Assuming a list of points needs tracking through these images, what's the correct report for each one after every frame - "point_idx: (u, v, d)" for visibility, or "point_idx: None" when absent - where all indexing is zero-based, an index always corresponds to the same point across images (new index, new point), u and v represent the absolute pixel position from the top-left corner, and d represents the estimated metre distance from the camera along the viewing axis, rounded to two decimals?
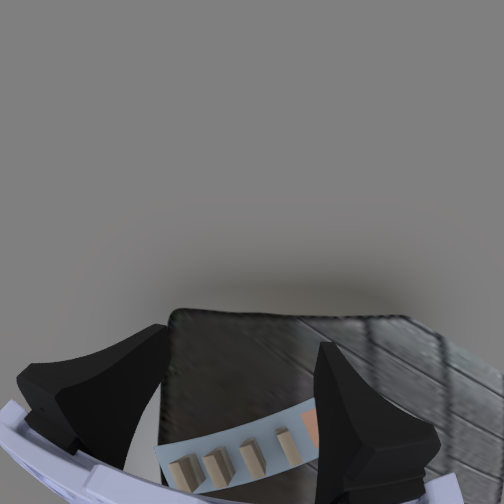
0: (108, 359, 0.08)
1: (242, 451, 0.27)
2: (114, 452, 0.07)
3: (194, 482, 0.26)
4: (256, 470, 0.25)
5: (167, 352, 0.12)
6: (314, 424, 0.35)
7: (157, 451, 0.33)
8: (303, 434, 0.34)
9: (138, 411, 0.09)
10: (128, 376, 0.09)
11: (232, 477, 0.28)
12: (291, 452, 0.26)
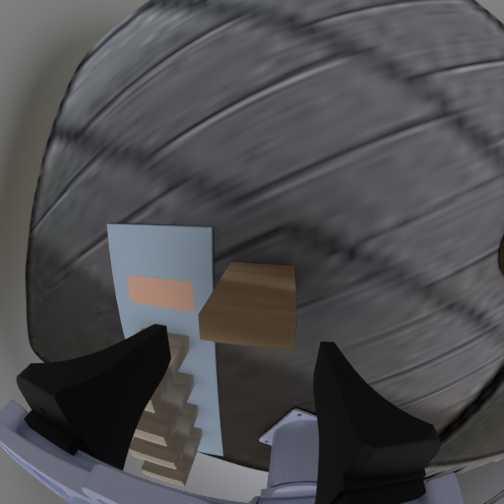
0: (108, 359, 0.08)
1: None
2: (114, 452, 0.07)
3: (180, 461, 0.23)
4: (152, 437, 0.17)
5: (167, 352, 0.12)
6: (152, 291, 0.23)
7: None
8: (163, 314, 0.24)
9: (138, 411, 0.09)
10: (128, 376, 0.09)
11: (187, 429, 0.23)
12: None
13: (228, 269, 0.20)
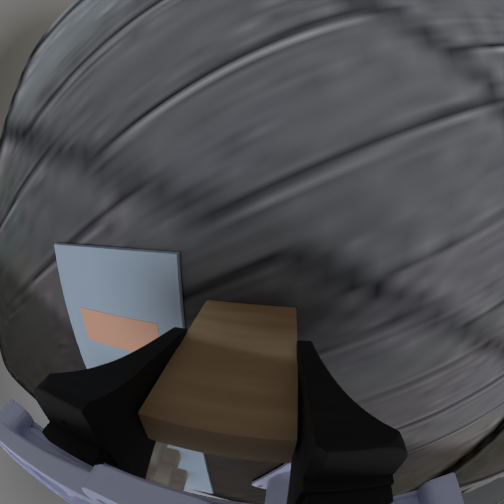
0: (132, 366, 0.08)
1: None
2: (138, 461, 0.07)
3: None
4: None
5: None
6: (110, 330, 0.16)
7: None
8: None
9: None
10: (152, 383, 0.08)
11: (166, 479, 0.17)
12: None
13: (200, 315, 0.13)
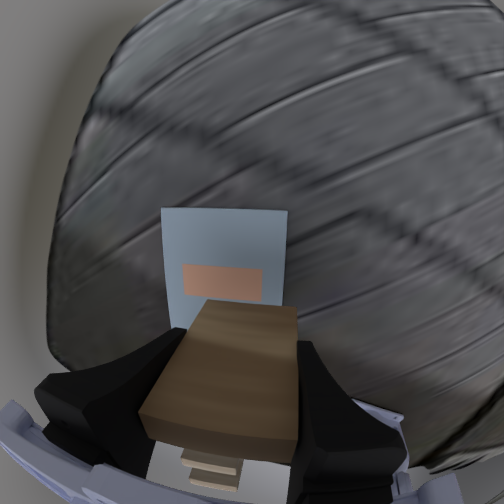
0: (132, 366, 0.08)
1: None
2: (138, 461, 0.07)
3: None
4: None
5: None
6: (212, 282, 0.22)
7: None
8: None
9: None
10: (152, 383, 0.08)
11: None
12: None
13: (200, 315, 0.13)
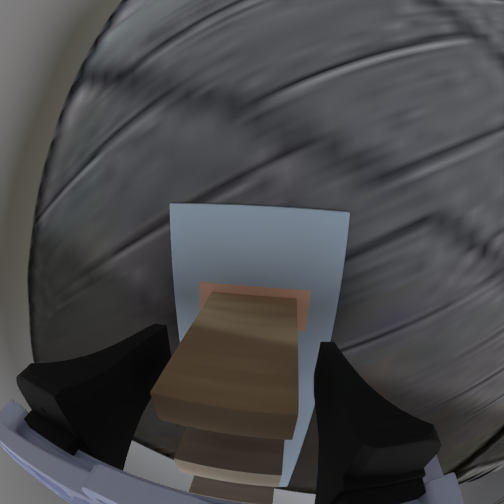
0: (108, 359, 0.08)
1: None
2: (114, 452, 0.07)
3: None
4: None
5: (167, 352, 0.12)
6: None
7: None
8: None
9: (138, 411, 0.09)
10: (128, 376, 0.09)
11: None
12: (238, 477, 0.09)
13: (206, 305, 0.14)
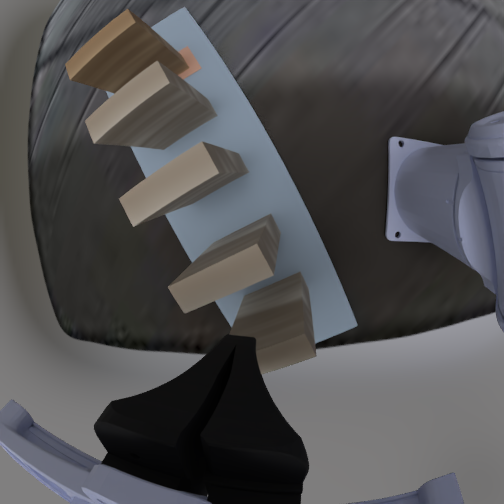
0: (200, 382, 0.08)
1: (138, 216, 0.12)
2: None
3: (286, 313, 0.15)
4: (185, 169, 0.11)
5: None
6: None
7: None
8: None
9: None
10: (217, 396, 0.08)
11: (265, 223, 0.16)
12: (130, 95, 0.10)
13: None
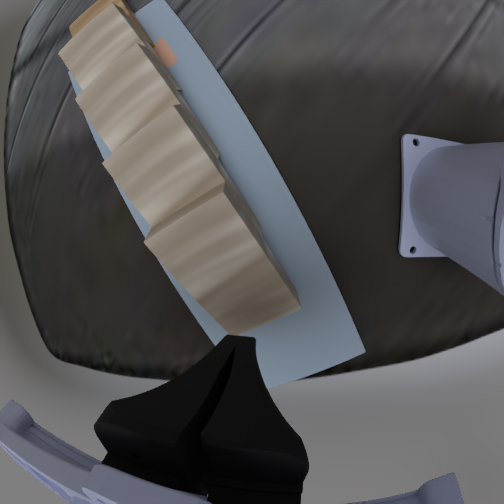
0: (200, 381, 0.08)
1: None
2: None
3: None
4: None
5: None
6: None
7: None
8: None
9: None
10: (217, 396, 0.08)
11: (226, 173, 0.15)
12: None
13: None
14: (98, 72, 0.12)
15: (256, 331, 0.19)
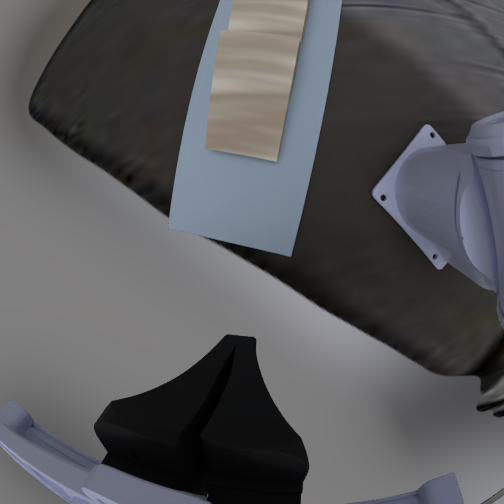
0: (200, 381, 0.08)
1: None
2: None
3: None
4: None
5: None
6: None
7: (178, 224, 0.21)
8: None
9: None
10: (217, 396, 0.08)
11: (300, 46, 0.15)
12: None
13: None
14: None
15: (221, 165, 0.19)
